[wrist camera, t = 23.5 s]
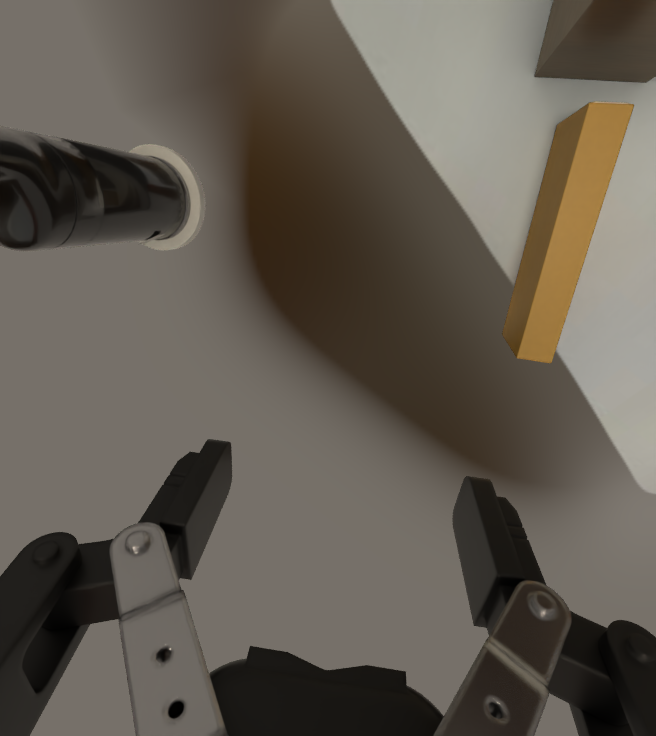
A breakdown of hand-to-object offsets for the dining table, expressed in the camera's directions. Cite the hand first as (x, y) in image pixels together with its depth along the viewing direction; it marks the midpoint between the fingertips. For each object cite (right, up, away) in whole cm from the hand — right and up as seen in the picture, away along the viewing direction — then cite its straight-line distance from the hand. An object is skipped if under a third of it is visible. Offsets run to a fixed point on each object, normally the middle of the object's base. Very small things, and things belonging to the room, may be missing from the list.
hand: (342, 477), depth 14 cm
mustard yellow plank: (+21, +16, +26) cm, 37 cm away
